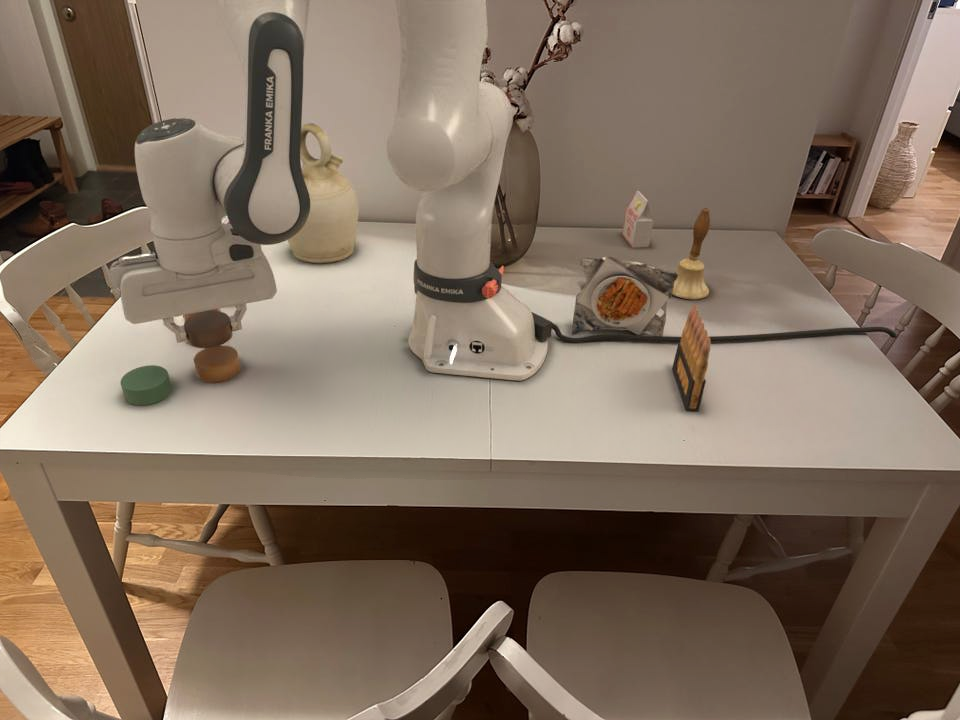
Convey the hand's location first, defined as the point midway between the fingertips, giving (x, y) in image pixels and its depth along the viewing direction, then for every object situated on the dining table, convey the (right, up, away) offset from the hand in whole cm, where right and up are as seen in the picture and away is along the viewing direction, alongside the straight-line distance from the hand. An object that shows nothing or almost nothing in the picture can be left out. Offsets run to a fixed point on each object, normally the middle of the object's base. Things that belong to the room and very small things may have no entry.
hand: (210, 334), depth 100 cm
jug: (+8, +18, +39) cm, 44 cm away
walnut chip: (0, 0, 0) cm, 0 cm away
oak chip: (0, -5, +3) cm, 6 cm away
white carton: (+73, +22, +48) cm, 90 cm away
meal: (+62, 0, +16) cm, 64 cm away
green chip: (-8, -8, -2) cm, 12 cm away
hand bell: (+78, +9, +30) cm, 84 cm away
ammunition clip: (+70, -8, +3) cm, 70 cm away
